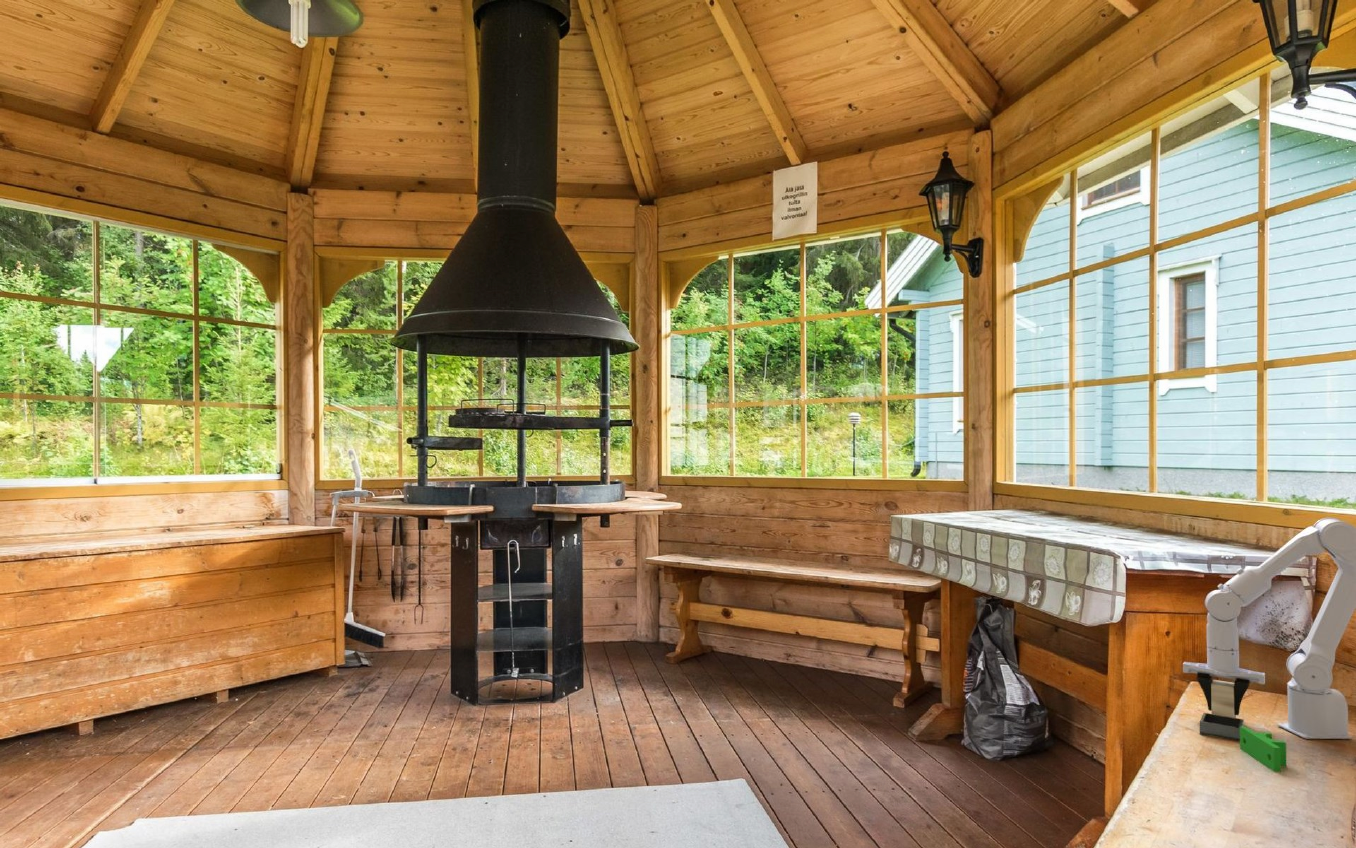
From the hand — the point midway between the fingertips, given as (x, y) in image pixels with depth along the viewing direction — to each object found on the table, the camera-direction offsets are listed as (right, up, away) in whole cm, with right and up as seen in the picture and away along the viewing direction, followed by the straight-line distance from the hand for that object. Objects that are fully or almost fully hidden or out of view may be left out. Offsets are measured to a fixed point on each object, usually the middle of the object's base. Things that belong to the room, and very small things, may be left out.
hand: (1223, 711), depth 176 cm
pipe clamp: (-6, -2, -22) cm, 23 cm away
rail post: (0, -2, 0) cm, 2 cm away
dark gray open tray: (-5, -2, -7) cm, 9 cm away
